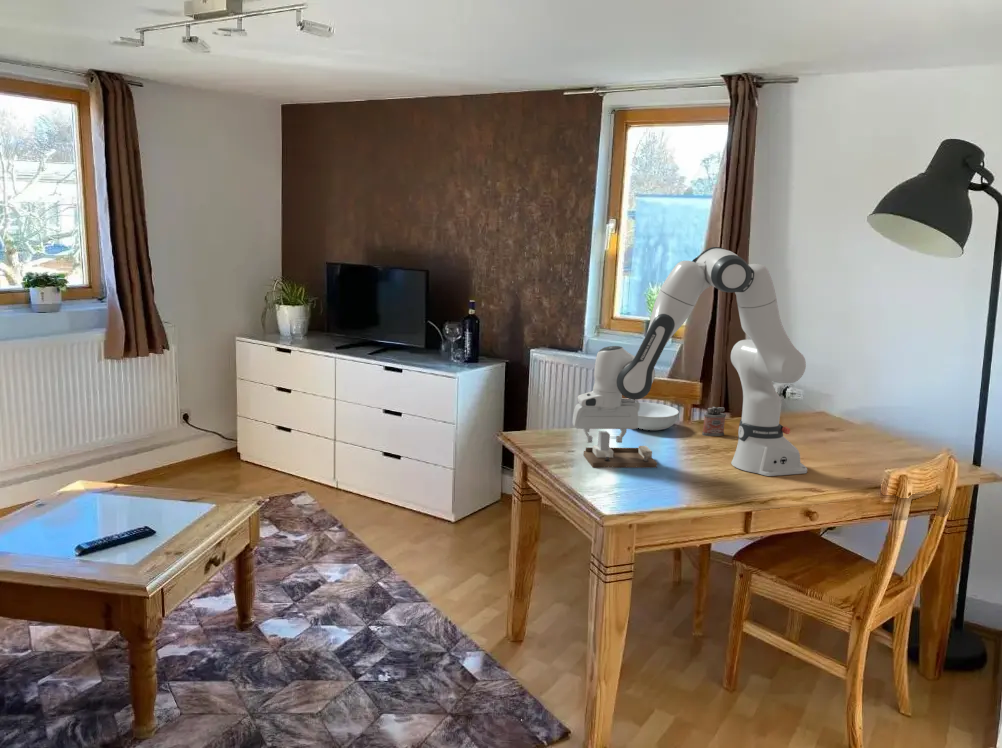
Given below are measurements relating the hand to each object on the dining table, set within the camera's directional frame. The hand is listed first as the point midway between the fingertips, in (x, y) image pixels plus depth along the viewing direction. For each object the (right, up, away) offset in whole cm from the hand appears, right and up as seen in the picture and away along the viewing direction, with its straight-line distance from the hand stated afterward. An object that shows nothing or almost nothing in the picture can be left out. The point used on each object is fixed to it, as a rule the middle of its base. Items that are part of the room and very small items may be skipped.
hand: (604, 442), depth 248 cm
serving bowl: (+21, +1, +42) cm, 47 cm away
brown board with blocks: (+5, -6, 0) cm, 8 cm away
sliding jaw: (0, -4, -1) cm, 4 cm away
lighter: (+43, -1, +36) cm, 56 cm away
